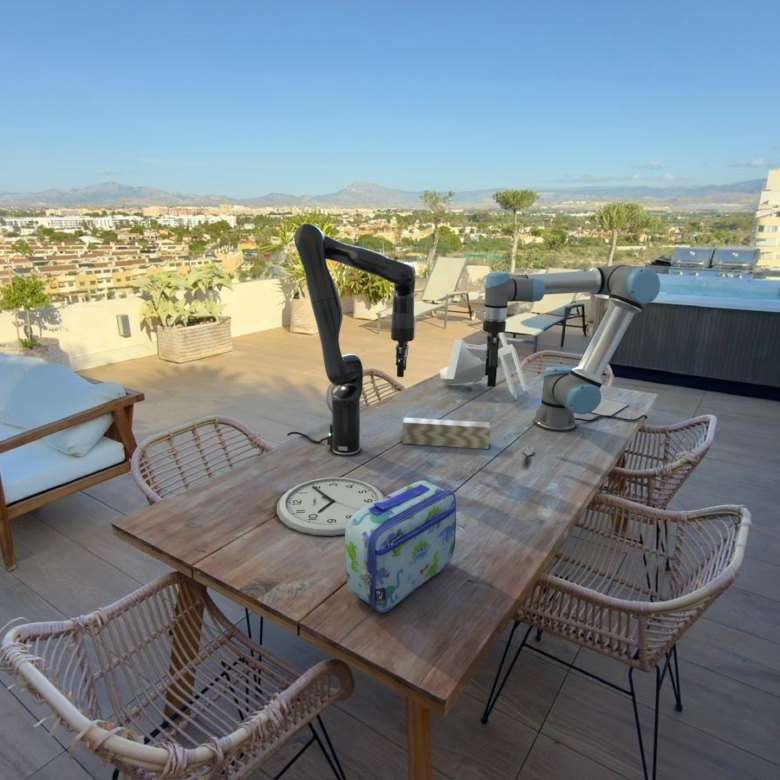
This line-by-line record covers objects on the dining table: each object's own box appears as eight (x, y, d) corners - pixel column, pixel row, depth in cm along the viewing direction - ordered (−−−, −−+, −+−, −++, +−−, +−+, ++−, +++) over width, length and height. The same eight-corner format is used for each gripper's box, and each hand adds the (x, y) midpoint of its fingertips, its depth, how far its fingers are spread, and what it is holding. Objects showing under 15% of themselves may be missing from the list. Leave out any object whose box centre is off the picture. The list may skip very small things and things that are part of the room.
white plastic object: (461, 429, 252) (437, 405, 227) (444, 352, 274) (420, 323, 250) (535, 404, 240) (518, 377, 215) (510, 326, 262) (492, 293, 237)
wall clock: (392, 527, 129) (268, 531, 127) (391, 533, 130) (269, 537, 127) (383, 473, 158) (282, 475, 155) (383, 478, 158) (282, 480, 156)
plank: (487, 443, 186) (489, 422, 183) (488, 449, 181) (490, 427, 179) (403, 438, 189) (404, 417, 187) (402, 443, 184) (402, 422, 182)
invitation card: (608, 416, 214) (573, 407, 224) (608, 416, 214) (573, 408, 224) (628, 404, 229) (594, 396, 238) (628, 405, 229) (594, 397, 238)
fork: (520, 467, 167) (520, 462, 166) (525, 449, 181) (526, 443, 181) (528, 469, 166) (529, 463, 165) (533, 450, 180) (533, 444, 180)
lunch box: (374, 626, 100) (375, 530, 93) (338, 598, 107) (337, 508, 101) (459, 568, 117) (465, 484, 111) (424, 547, 124) (427, 467, 118)
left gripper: (393, 321, 178) (392, 367, 182) (388, 329, 164) (387, 378, 169) (415, 322, 177) (414, 368, 182) (412, 330, 163) (411, 379, 168)
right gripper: (481, 313, 186) (477, 370, 193) (485, 325, 163) (480, 390, 169) (502, 314, 186) (498, 371, 192) (509, 326, 162) (504, 392, 168)
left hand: (401, 373), depth 175 cm, fingers open, 8 cm apart
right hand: (489, 380), depth 181 cm, fingers open, 13 cm apart
